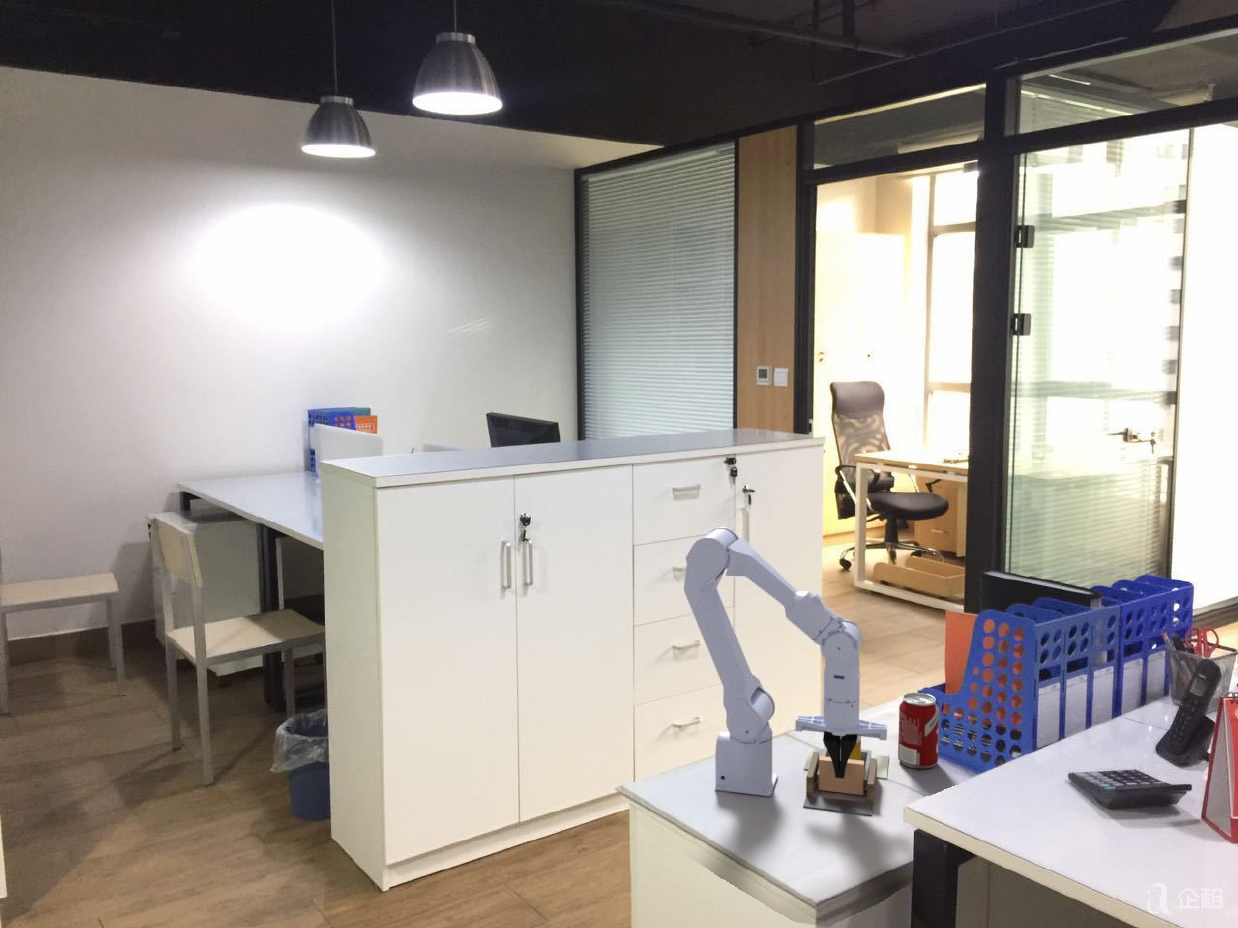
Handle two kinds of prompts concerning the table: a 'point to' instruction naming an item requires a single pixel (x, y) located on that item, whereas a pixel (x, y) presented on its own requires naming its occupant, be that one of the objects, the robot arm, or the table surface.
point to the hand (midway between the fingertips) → (840, 775)
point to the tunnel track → (876, 771)
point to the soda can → (918, 731)
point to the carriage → (853, 777)
